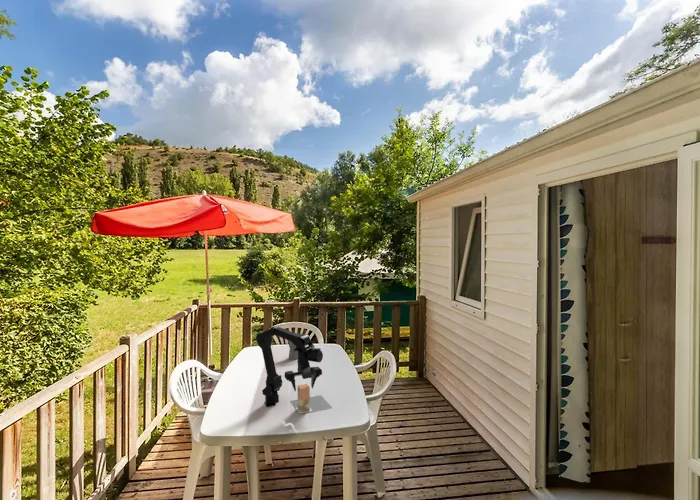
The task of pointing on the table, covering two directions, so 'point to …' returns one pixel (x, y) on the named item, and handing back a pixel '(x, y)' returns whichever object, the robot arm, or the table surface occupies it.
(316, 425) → the table surface
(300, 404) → the maple block
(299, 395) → the terracotta block
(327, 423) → the table surface
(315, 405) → the board
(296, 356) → the coffeepot
